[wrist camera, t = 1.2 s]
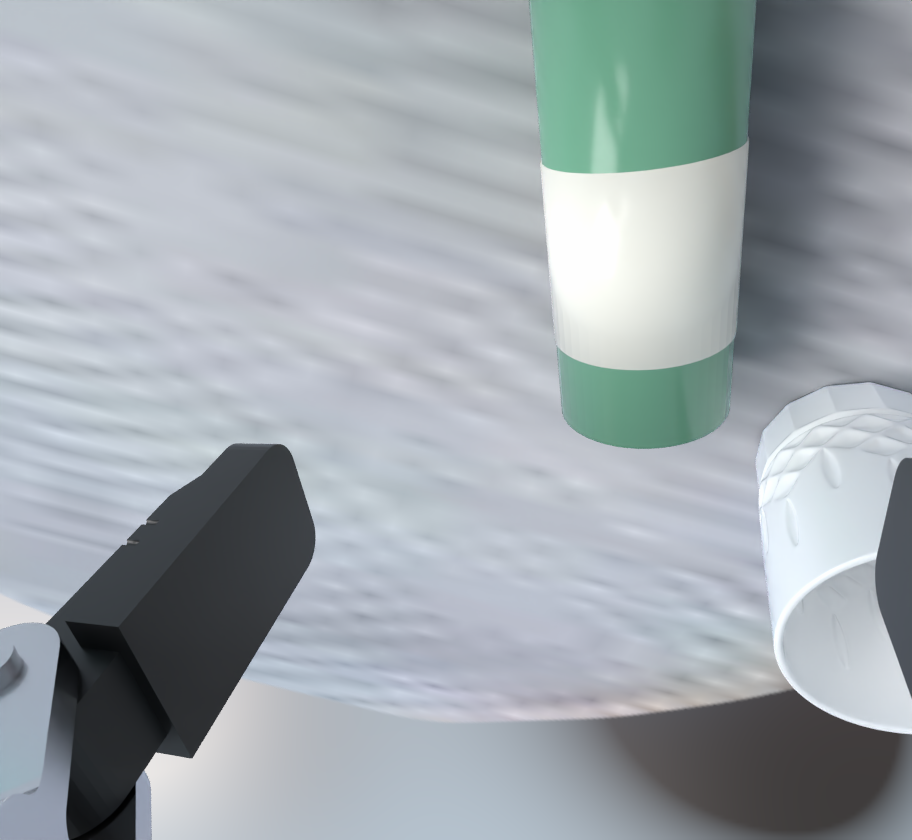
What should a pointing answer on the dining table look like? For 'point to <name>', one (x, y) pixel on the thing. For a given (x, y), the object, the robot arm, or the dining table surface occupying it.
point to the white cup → (834, 547)
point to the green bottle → (644, 208)
